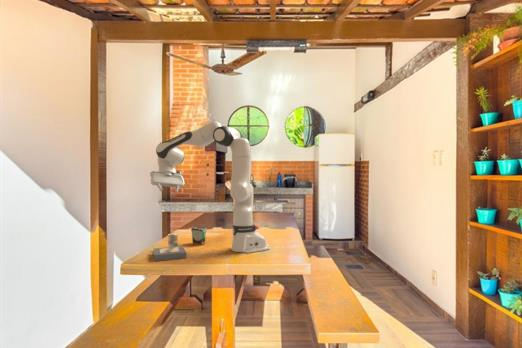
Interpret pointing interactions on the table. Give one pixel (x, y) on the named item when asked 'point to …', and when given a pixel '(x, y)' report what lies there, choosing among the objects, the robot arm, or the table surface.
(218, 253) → the table surface
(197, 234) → the food container
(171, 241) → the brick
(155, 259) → the base block
